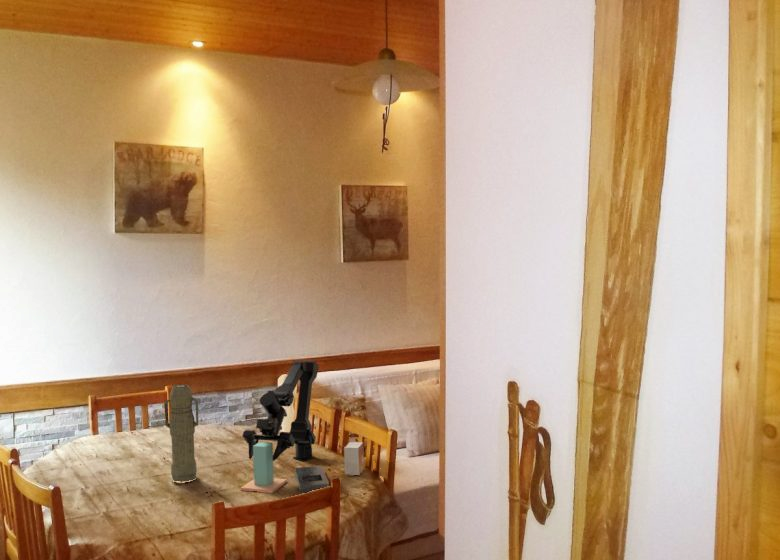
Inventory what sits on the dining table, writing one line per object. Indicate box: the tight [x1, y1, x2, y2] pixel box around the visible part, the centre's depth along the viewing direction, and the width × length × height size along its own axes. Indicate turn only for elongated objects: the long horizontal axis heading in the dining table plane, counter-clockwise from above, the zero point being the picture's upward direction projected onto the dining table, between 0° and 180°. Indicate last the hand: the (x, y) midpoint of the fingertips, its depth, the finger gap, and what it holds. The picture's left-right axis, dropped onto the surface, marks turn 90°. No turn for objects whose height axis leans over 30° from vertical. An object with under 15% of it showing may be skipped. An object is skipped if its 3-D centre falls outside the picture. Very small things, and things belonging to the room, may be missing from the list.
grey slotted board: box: [294, 465, 330, 494], centre depth 253 cm, size 21×10×2 cm, turn 13°
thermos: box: [163, 384, 199, 482], centre depth 259 cm, size 9×12×35 cm
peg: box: [252, 441, 275, 486], centre depth 250 cm, size 5×5×14 cm
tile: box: [240, 477, 288, 494], centre depth 250 cm, size 12×12×1 cm
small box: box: [343, 441, 365, 476], centre depth 263 cm, size 8×6×10 cm
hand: (261, 459), depth 248 cm, fingers open, 9 cm apart
